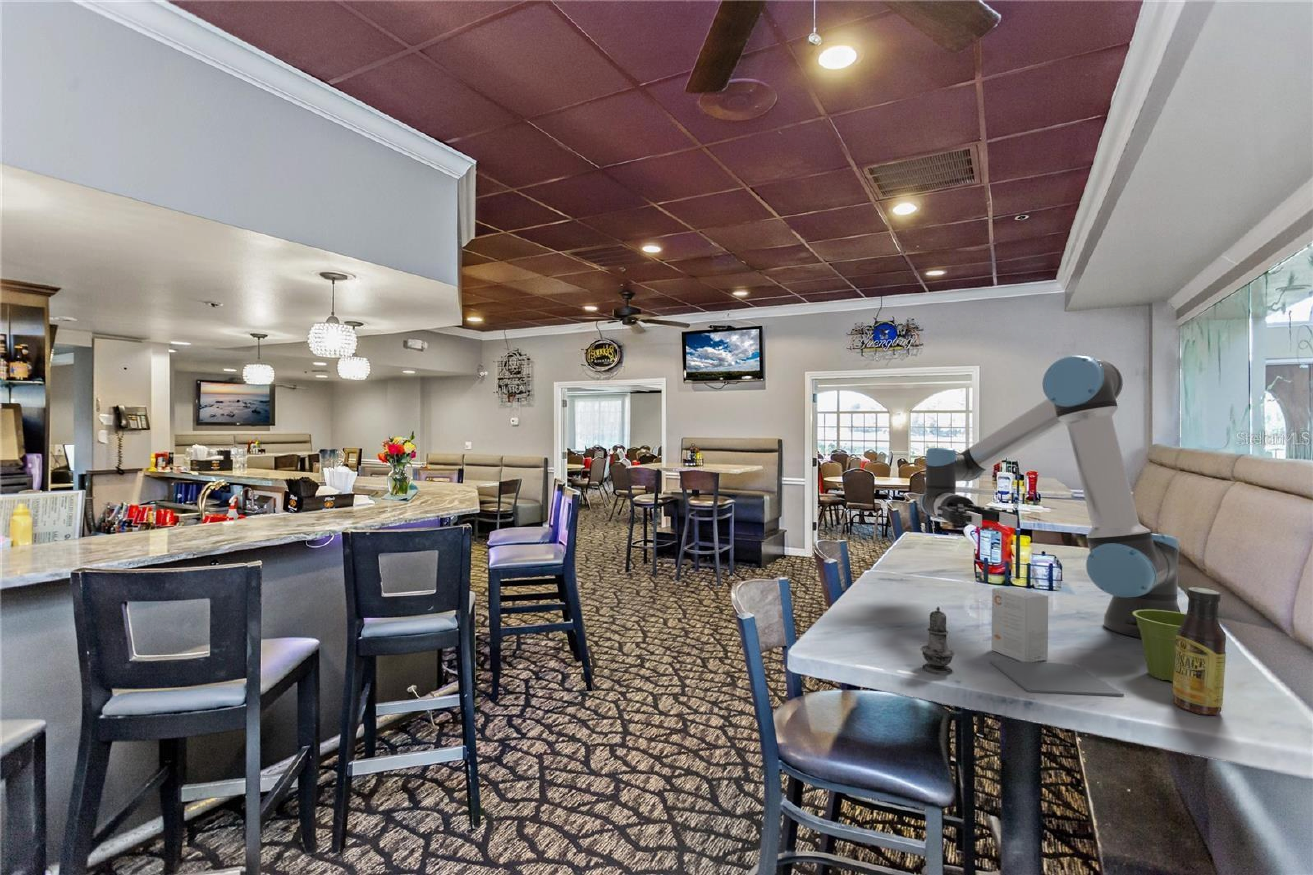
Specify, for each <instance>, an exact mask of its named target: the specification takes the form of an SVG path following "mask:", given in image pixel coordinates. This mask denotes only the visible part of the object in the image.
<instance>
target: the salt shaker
mask: <svg viewBox="0 0 1313 875" xmlns="http://www.w3.org/2000/svg"><path fill="white" fill-rule="evenodd" d="M927 631H928V643H927V645H923V646H921V647H920V651H922V654H921V655H922V656H923V659H924V660H925V661H926V663H924V664H922V666H921V668H922V669H923V670H924V671H926V672H928V673H931V674H935V675H943V676H947V675H951V674H952V673H953V672H954V671H953V669H952V668H950V667H949V666H948V665H950V663H951V662H952V660H953V658H954V656H955V651H954V650H953V649H950V648H948V643H947V634H949V631H948V630H947V615H946V613H944V612H942V611H941V609H940V606H937V607H936V608H935V610H934V611H931V612H930V614H929V627H928V628H927Z"/></svg>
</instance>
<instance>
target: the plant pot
mask: <svg viewBox="0 0 1313 875" xmlns="http://www.w3.org/2000/svg"><path fill="white" fill-rule="evenodd" d="M1186 614H1187V613H1184V612H1181V613H1178V612H1172V611H1163V610H1137V611H1134V612H1133V615H1134V616H1135V617H1136V619H1137V624H1138V628H1139V629H1140V633H1141V638H1140V639H1141V643H1142V648H1143V649H1142V650H1143V654H1144V658H1145V664H1146V669H1147V674H1149V676H1151V677H1154V678H1155V677H1156V679H1157V678H1159V679H1158V680H1160V679H1161V681H1165V680H1166V681H1170V682H1172V683H1173V676H1174V659H1175V645H1176V644H1175V643H1176V635H1177V633H1178V630H1179V628H1180V626H1181V624H1182V622H1183V620H1184V618H1185V616H1186Z"/></svg>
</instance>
